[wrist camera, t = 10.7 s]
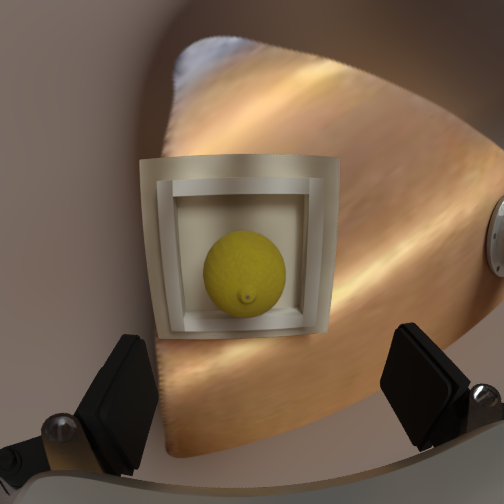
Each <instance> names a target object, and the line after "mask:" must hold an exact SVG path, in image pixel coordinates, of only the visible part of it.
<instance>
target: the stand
mask: <svg viewBox="0 0 504 504" xmlns="http://www.w3.org/2000/svg"><path fill="white" fill-rule="evenodd" d="M339 178H340V157H327V156H309V155H283V154H224V155H198V156H181V157H167V158H155V159H145V160H140V189H141V205H142V221H143V232H144V242H145V252H146V261H147V269H148V277H149V284H150V291H151V298H152V304H153V310H154V316H155V322H156V327H157V333H158V338H159V339H238V338H262V337H279V336H293V335H305V334H316V333H326V332H327V330H328V323H329V315H330V307H331V298H332V289H333V279H334V269H335V257H336V244H337V229H338V209H339ZM240 230H245V231H253V232H256V233H259V234H262V235H263V236H265V237H267V238H268V239H270V240H271V241H272V242H273V243H274V244H275V246H276V247H277V248H278V249H279V251H280V253H281V255H282V257H283V259H284V264H285V268H286V282H285V287H284V290H283V293H282V295H281V297H280V299H279V300H278V302H277V303H276V304H275V305H274V306H273V307H272V308H271V309H270V310H269V311H267V312H266V313H264V314H262V315H259V316H256V317H253V318H239V317H234V316H231V315H228V314H226V313H225V312H223V311H222V310H220V309H219V308H218V307H217V306H216V305H215V304H214V303H213V302H212V300H211V299H210V297H209V295H208V293H207V291H206V289H205V284H204V279H203V268H204V262H205V259H206V256H207V254H208V252H209V250H210V249H211V247H212V246H213V245H214V243H215V242H216V241H218V240H219V239H220V238H221V237H223V236H225V235H227V234H229V233H231V232H235V231H240Z"/></svg>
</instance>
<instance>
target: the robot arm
mask: <svg viewBox="0 0 504 504" xmlns="http://www.w3.org/2000/svg"><path fill="white" fill-rule="evenodd" d="M487 260H488V264H489V267H490V269H491V271H492V272H493V273H494V274H496V275H497V276H499V277H504V196H503V197H502V198H501V199H500V201H499V202H498V204H497V205H496V207H495V209H494V212H493V214H492V217H491V220H490V224H489V229H488V235H487ZM469 384H470V380H469V379H468V378H467V377H466V376H465V375H464V374H463V373H462V372H461V371H460V369H459V368H458V367H457V366H456V365H455V364H454V363H453V362H452V361H451V360H450V359H449V358H448V357H447V356H446V355H445V354H444V352H443V351H442V350H441V349H440V348H439V347H438V346H437V345H436V344H435V343H434V342H433V341H432V340H431V339H430V338H429V337H428V336H427V335H426V334H425V333H424V332H423V331H422V330H421V329H420V328H419V327H418V326H417V325H416V324H415V323H405V324H401V325H399V327H398V328H397V329H396V330H395V332H394V336H393V339H392V343H391V347H390V350H389V354H388V357H387V360H386V364H385V367H384V370H383V373H382V376H381V379H380V387H381V389H382V391H383V393H384V394H385V396H386V398H387V400H388V401H389V403H390V404H391V407H392V408H393V410H394V412H395V414H396V415H397V417H398V419H399V421H400V422H401V424H402V426H403V428H404V430H405V432H406V433H407V435H408V437H409V439H410V441H411V442H412V444H413V445H414V446H417V448H418V450H419V451H420V452H421V451H424V450H426V449H429V448H431V447H432V445H433V446H434V448H432V449H430V450H428V451H425V452H423V453H420V454H418V455H415V456H412V457H409V458H407V459H404V460H401V461H398V462H395V463H392V464H389V465H385V466H382V467H379V468H375V469H372V470H368V471H364V472H360V473H356V474H352V475H348V476H343V477H338V478H333V479H328V480H322V481H316V482H310V483H303V484H295V485H285V486H274V487H258V488H207V487H191V486H181V485H171V484H163V483H155V482H148V481H142V480H137V479H131V478H125V477H121V474H124V475H129V476H133V471H134V469H136V470H137V469H138V468H139V466H140V463H141V459H142V455H143V451H144V448H145V444H146V440H147V436H148V433H149V430H150V426H151V423H152V419H153V416H154V413H155V409H156V406H157V403H158V391H157V387H156V384H155V380H154V376H153V373H152V369H151V365H150V361H149V357H148V353H147V349H146V344H145V341H144V340H142V339H140V337H139V336H138V335H128V334H124V335H122V337H121V338H120V340H119V341H118V343H117V345H116V346H115V348H114V349H113V351H112V353H111V354H110V356H109V357H108V359H107V361H106V362H105V364H104V366H103V367H102V368H101V369H100V370H99V372H98V373H97V375H96V377H95V379H94V380H93V382H92V384H91V385H90V387H89V389H88V390H87V392H86V394H85V396H84V397H83V399H82V401H81V403H80V404H79V406H78V408H77V410H76V412H75V413H74V415H71V414H68V413H58V414H54V415H52V416H50V417H49V418H48V419H46V420H45V422H44V423H43V425H42V428H41V436H38V437H35V438H32V439H29V440H26V441H23V442H20V443H17V444H13V445H10V446H7V447H4V448H2V449H0V504H504V403H502V402H501V396H500V394H499V392H498V390H497V389H495V388H494V387H493V386H491V385H488V384H482V383H481V384H476V385H475V386H473V387H472V388H471V390H470V389H469V388H468V386H469Z"/></svg>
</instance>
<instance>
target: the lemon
mask: <svg viewBox="0 0 504 504" xmlns="http://www.w3.org/2000/svg"><path fill="white" fill-rule="evenodd" d="M203 279H204V284H205V289H206V291H207V293H208V295H209V297H210V299H211V300H212V302H213V303H214V304H215V305H216V306H217V307H218V308H219V309H220V310H222V311H223V312H225V313H226V314H228V315H231V316H234V317H239V318H253V317H256V316H259V315H262V314H264V313H266V312H267V311H269V310H270V309H271V308H272V307H273V306H274V305H275V304H276V303H277V302H278V300H279V299H280V297H281V295H282V293H283V290H284V287H285V282H286V268H285V264H284V259H283V257H282V255H281V253H280V251H279V249H278V248H277V247H276V246H275V244H274V243H273V242H272V241H271V240H270V239H268V238H267V237H265V236H263V235H262V234H259V233H256V232H253V231H245V230H240V231H235V232H231V233H229V234H227V235H225V236H223V237H221V238H220V239H219V240H218V241H216V242H215V243H214V245H213V246H212V247H211V249H210V250H209V252H208V254H207V256H206V259H205V262H204V268H203Z"/></svg>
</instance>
